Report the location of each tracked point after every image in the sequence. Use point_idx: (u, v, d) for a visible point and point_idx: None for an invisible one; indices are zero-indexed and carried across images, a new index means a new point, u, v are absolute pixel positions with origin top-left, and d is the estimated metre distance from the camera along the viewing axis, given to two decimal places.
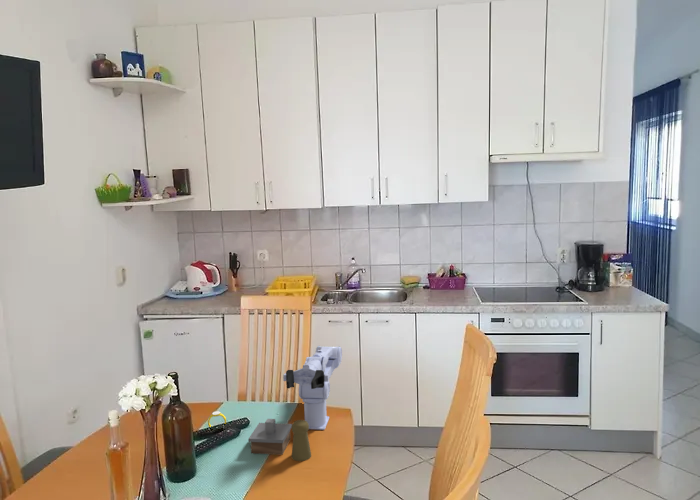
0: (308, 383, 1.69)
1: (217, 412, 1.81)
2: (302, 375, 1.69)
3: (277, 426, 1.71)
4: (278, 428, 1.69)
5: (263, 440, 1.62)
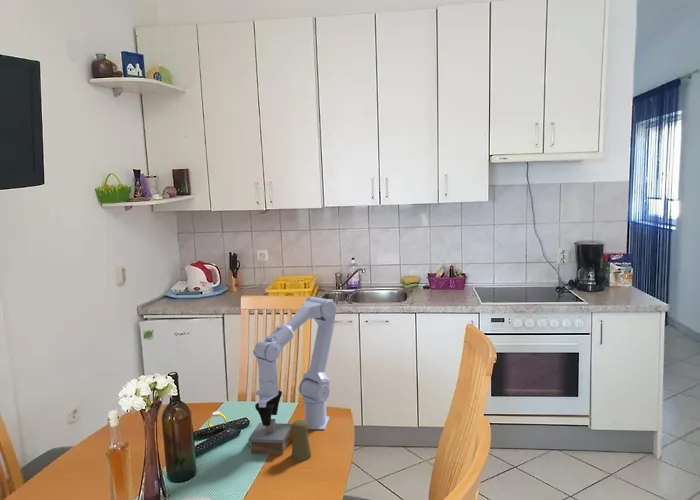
0: None
1: (217, 412, 1.81)
2: None
3: (277, 426, 1.71)
4: (278, 428, 1.69)
5: (263, 440, 1.62)
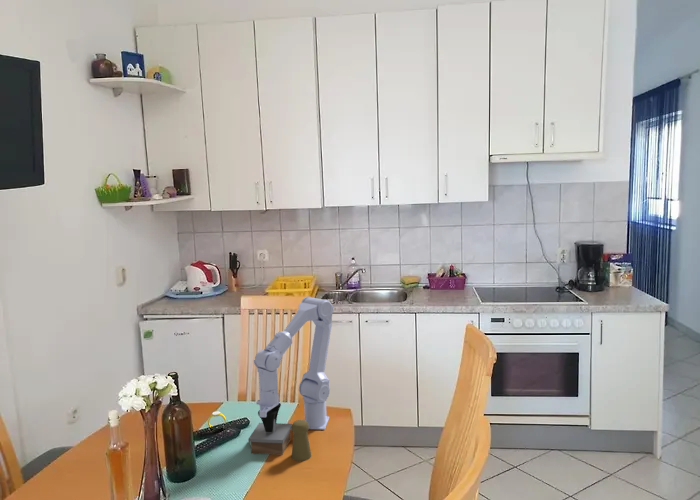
0: None
1: (217, 412, 1.81)
2: None
3: (277, 426, 1.71)
4: (278, 428, 1.69)
5: (263, 440, 1.62)
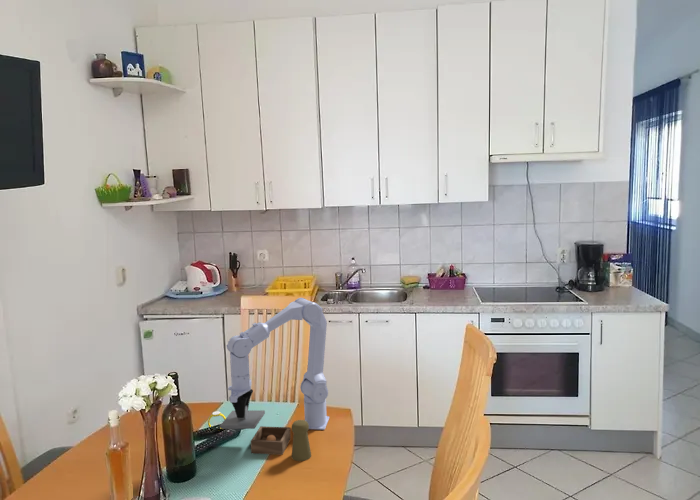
0: None
1: (217, 412, 1.81)
2: None
3: (250, 413, 1.71)
4: (250, 414, 1.70)
5: (235, 426, 1.63)
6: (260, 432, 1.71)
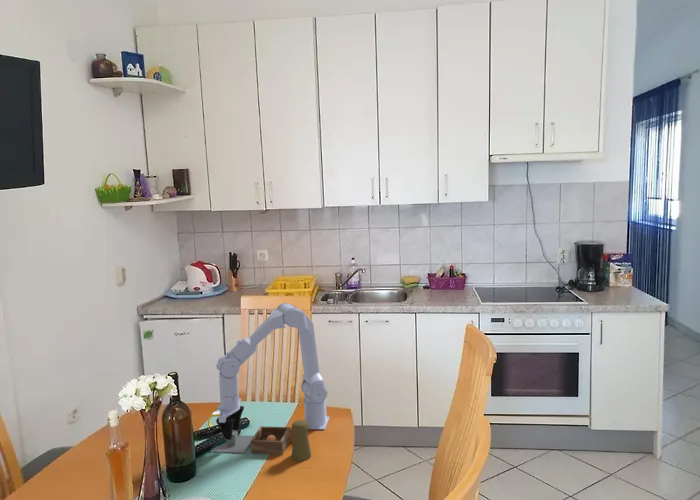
0: None
1: (217, 412, 1.81)
2: None
3: (240, 438, 1.73)
4: (240, 440, 1.72)
5: None
6: (260, 432, 1.71)
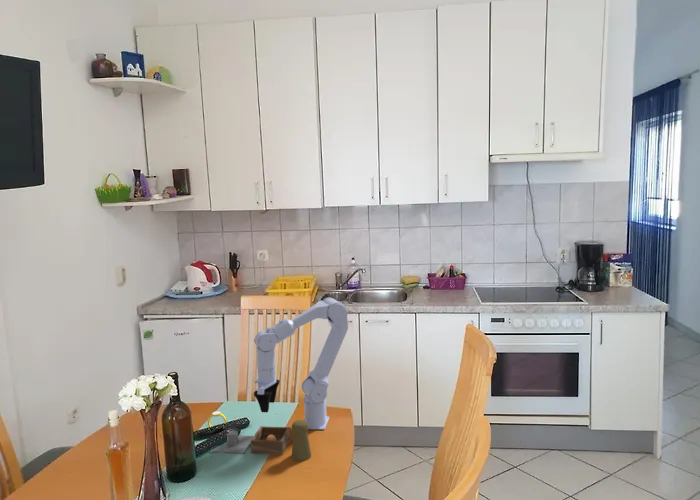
0: None
1: (217, 412, 1.81)
2: None
3: (240, 438, 1.73)
4: (240, 440, 1.72)
5: None
6: (260, 432, 1.71)
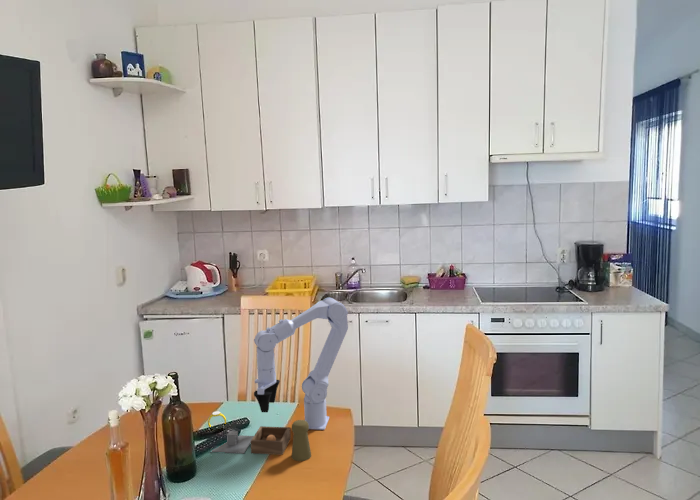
0: None
1: (217, 412, 1.81)
2: None
3: (240, 438, 1.73)
4: (240, 440, 1.72)
5: None
6: (260, 432, 1.71)
